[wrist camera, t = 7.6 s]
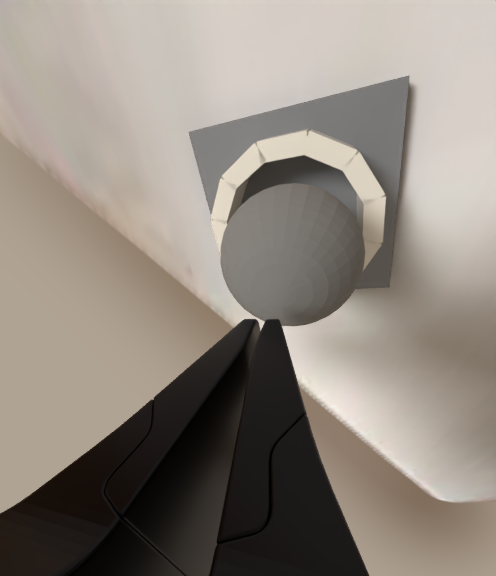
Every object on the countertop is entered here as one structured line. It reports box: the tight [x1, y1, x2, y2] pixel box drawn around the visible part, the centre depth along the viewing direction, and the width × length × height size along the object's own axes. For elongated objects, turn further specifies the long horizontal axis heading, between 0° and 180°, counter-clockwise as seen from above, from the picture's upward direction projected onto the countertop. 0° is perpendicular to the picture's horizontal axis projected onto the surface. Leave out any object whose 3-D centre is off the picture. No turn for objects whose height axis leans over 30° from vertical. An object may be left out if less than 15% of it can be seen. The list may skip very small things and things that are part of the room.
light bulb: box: [221, 183, 365, 326], centre depth 13 cm, size 6×6×10 cm
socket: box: [189, 76, 409, 289], centre depth 16 cm, size 12×12×4 cm
